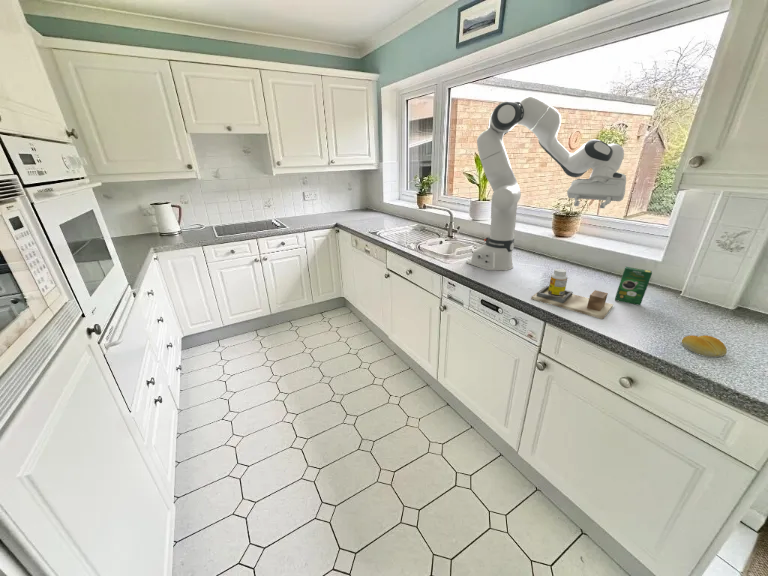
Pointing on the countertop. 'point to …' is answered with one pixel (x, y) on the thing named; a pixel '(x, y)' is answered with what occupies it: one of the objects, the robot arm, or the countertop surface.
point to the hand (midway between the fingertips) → (588, 206)
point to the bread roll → (704, 345)
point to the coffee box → (633, 285)
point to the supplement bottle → (558, 283)
